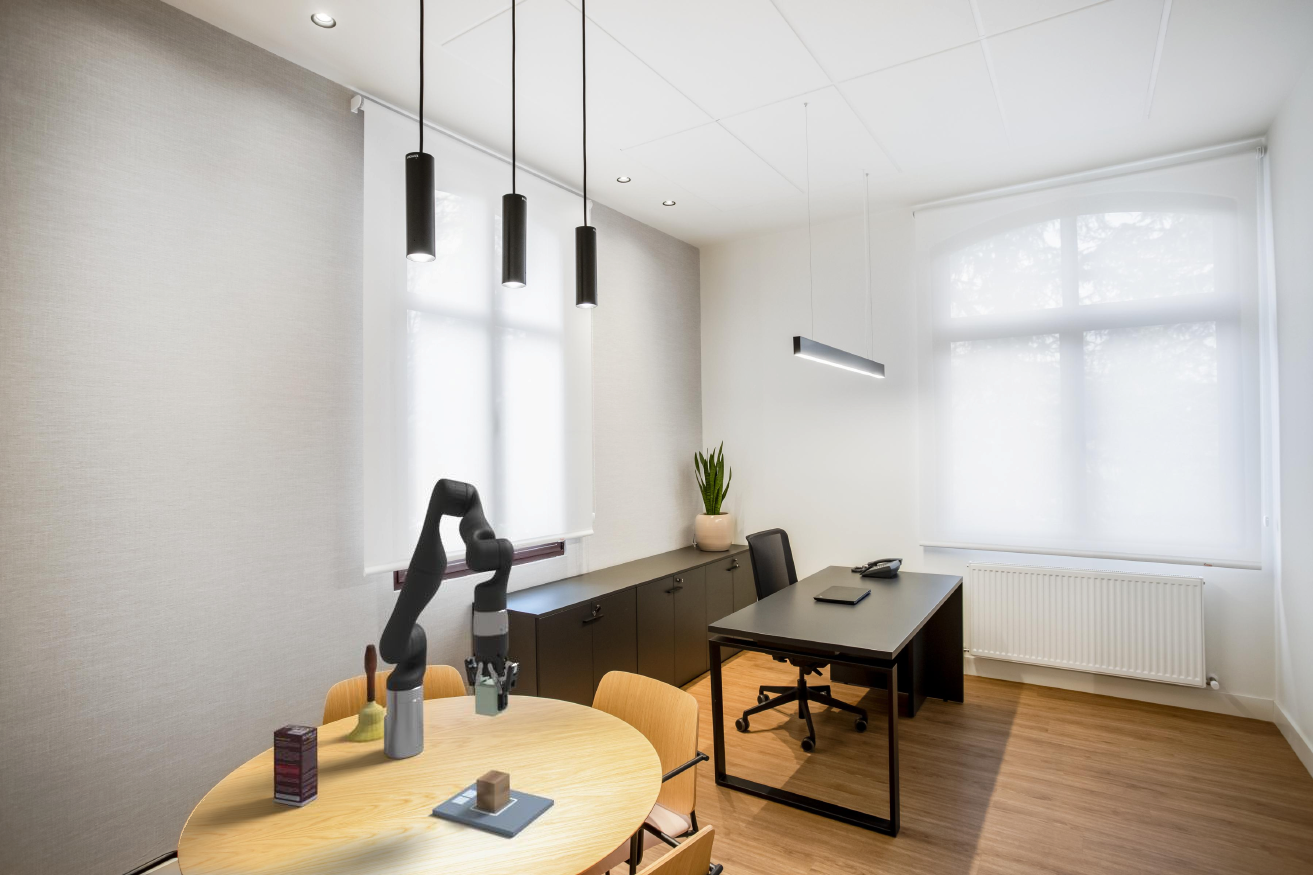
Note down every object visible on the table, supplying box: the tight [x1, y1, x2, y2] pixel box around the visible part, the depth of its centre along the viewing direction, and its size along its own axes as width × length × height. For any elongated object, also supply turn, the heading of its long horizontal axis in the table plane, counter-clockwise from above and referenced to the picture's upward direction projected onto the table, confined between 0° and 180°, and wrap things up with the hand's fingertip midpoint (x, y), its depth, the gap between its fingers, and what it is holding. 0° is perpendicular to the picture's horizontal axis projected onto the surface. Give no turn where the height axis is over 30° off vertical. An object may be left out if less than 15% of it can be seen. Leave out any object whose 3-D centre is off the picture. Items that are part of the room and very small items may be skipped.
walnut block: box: [475, 769, 511, 812], centre depth 144 cm, size 5×5×6 cm
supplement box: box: [273, 724, 319, 808], centre depth 151 cm, size 9×5×16 cm, turn 71°
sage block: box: [474, 678, 509, 718], centre depth 145 cm, size 5×5×6 cm
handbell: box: [347, 643, 385, 744], centre depth 189 cm, size 12×12×25 cm
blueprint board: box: [431, 781, 555, 838], centre depth 144 cm, size 22×14×1 cm, turn 63°
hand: (492, 707), depth 145 cm, fingers closed on sage block, 5 cm apart
